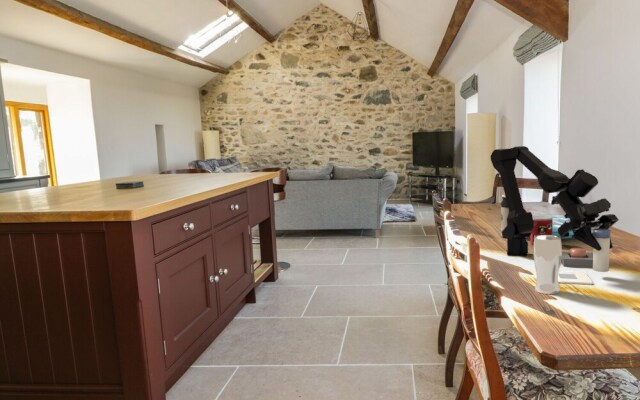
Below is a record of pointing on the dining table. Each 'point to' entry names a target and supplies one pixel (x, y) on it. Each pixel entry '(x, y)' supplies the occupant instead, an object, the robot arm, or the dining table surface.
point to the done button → (578, 253)
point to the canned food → (541, 226)
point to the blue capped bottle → (603, 255)
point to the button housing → (577, 260)
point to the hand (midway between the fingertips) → (605, 249)
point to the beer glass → (547, 263)
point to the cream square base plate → (573, 278)
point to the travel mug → (504, 213)
